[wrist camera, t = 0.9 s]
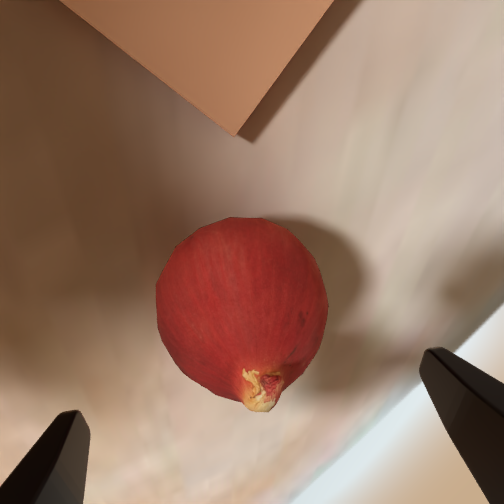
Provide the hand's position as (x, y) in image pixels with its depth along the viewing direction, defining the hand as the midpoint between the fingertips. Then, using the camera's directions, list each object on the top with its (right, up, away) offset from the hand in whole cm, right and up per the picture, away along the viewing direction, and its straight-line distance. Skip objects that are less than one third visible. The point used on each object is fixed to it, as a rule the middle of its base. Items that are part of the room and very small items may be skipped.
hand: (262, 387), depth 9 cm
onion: (-1, +4, +6) cm, 8 cm away
